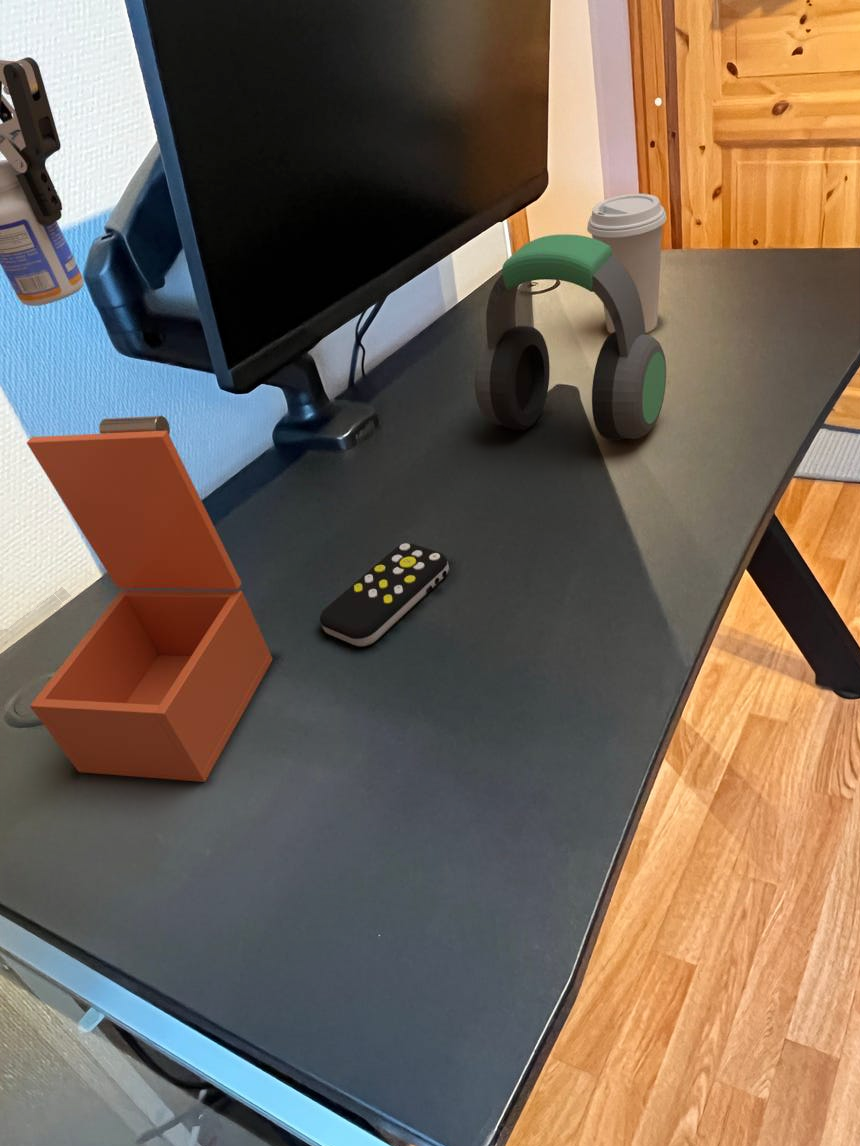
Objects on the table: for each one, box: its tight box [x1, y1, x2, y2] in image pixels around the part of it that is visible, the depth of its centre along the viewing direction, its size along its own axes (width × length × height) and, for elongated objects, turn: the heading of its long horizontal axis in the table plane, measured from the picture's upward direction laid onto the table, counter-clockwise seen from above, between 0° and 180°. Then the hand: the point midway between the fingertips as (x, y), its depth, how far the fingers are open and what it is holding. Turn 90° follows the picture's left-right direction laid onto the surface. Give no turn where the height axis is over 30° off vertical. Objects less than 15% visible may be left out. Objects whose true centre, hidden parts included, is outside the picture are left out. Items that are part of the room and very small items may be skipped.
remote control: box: [319, 542, 450, 647], centre depth 79 cm, size 6×13×2 cm, turn 143°
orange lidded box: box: [29, 589, 274, 783], centre depth 71 cm, size 14×12×8 cm
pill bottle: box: [0, 159, 85, 307], centre depth 69 cm, size 5×5×10 cm
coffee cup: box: [586, 193, 668, 334], centre depth 109 cm, size 10×10×15 cm
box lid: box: [26, 415, 242, 590], centre depth 69 cm, size 14×12×5 cm
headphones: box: [474, 233, 667, 441], centre depth 91 cm, size 19×11×20 cm, turn 63°
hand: (19, 225), depth 69 cm, fingers closed on pill bottle, 5 cm apart
